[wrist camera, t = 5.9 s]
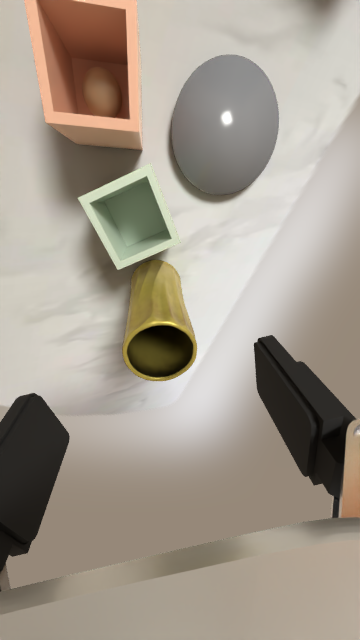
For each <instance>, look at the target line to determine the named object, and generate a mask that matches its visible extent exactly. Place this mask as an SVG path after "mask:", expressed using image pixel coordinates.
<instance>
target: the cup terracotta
mask: <svg viewBox="0 0 360 640" xmlns="http://www.w3.org/2000/svg"><path fill="white" fill-rule="evenodd" d="M24 2H25V7H26V13H27V19H28V24H29V30H30V36H31V42H32V47H33V53H34V59H35V64H36V70H37V76H38V82H39V87H40V93H41V99H42V104H43V110H44V116H45V122H46V123H47V124H48V125H50V126H51V127H53V128H54V129H56V130H57V131H59V132H60V133H61V134H63V135H64V136H66V137H67V138H69V139H70V140H71V141H73V142H74V143H76V144H81V145H92V146H103V147H114V148H125V149H136V150H143V148H142V90H141V54H140V40H139V26H138V12H137V0H24ZM93 67H102V68H105V69H106V70H108V71H109V72H110V73H111V74H112V75H113V76H114V77H115V78H116V80H117V82H118V84H119V86H120V89H121V93H122V106H121V110H120V112H119V114H118V115H117V116H116V117H115V118H110V117H101V116H95V115H93V114H92V112H91V111H90V110H89V109H88V107H87V105H86V103H85V101H84V97H83V92H82V83H83V78H84V76H85V74H86V73H87V71H88V70H90V69H91V68H93Z"/></svg>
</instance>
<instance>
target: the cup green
mask: <svg viewBox="0 0 360 640" xmlns="http://www.w3.org/2000/svg"><path fill="white" fill-rule="evenodd" d="M78 199H79V201H80V203H81V205H82V207H83V208H84V210H85V212H86V214H87V216H88V217H89V219H90V221H91V223H92V225H93V226H94V228H95V230H96V232H97V234H98V235H99V237H100V239H101V241H102V243H103V244H104V246H105V248H106V250H107V252H108V253H109V255H110V257H111V259H112V261H113V262H114V264H115V266H116V268H117V270H119V269H122V268H124V267H126V266H129V265H131V264H133V263H135V262H138V261H140V260H142V259H145V258H147V257H149V256H152V255H154V254H156V253H158V252H161V251H163V250H165V249H168V248H170V247H172V246H174V245H177V244H179V243H181V241H180V239H179V236H178V234H177V231H176V228H175V226H174V223H173V220H172V218H171V215H170V212H169V210H168V207H167V205H166V202H165V199H164V197H163V194H162V191H161V189H160V186H159V183H158V181H157V178H156V175H155V173H154V170H153V168H152V165H151V163H150V164H148V165H146V166H144V167H142V168H140V169H137V170H135V171H133V172H131V173H129V174H127V175H125V176H123V177H121V178H119V179H116V180H114V181H112V182H110V183H108V184H106V185H104V186H102V187H100V188H98V189H95V190H93V191H91V192H89V193H87V194H85V195H83V196H81V197H79V198H78Z"/></svg>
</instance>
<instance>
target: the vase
mask: <svg viewBox="0 0 360 640" xmlns="http://www.w3.org/2000/svg"><path fill="white" fill-rule="evenodd" d="M196 353H197V343H196V340H195V335H194V331H193V328H192V325H191V322H190V319H189V316H188V313H187V310H186V307H185V304H184V300H183V295H182V289H181V281H180V276H179V274H178V273H177V271H176V270H175V268H174V267H173V266H172V265H170V264H168V263H167V262H164V261H161V260H150V261H147V262H145V263H143V264H142V265H140V266H139V267H138V268H137V269H136V270H135V272H134V273H133V276H132V278H131V296H130V304H129V311H128V318H127V325H126V331H125V336H124V342H123V347H122V354H123V358H124V361H125V363H126V365H127V367H128V368H129V369H130V370H131V371H132V372H133V373H134V374H135V375H137V376H138V377H140V378H143V379H146V380H150V381H166V380H170V379H173V378H176V377H178V376H179V375H181V374H183V373H184V372H185V371H187V370H188V369H189V368H190V367H191V365H192V364H193V363H194V361H195V359H196Z"/></svg>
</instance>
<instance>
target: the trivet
mask: <svg viewBox="0 0 360 640" xmlns="http://www.w3.org/2000/svg"><path fill="white" fill-rule="evenodd" d="M278 127H279V111H278V104H277V99H276V95H275V92H274V89H273V87H272V84H271V83H270V81H269V79H268V77H267V76H266V74H265V73H264V72H263V70H262V69H261V68H260V67H259V66H258V65H256V64H255V63H254V62H252V61H251V60H249V59H247V58H245V57H242V56H238V55H221V56H217V57H214V58H212V59H210V60H208V61H206V62H205V63H203V64H202V65H201V66H199V67H198V68H197V69H196V70H195V71H194V72H193V73H192V74H191V76H190V77H189V78H188V80H187V81H186V83H185V84H184V86H183V88H182V90H181V92H180V94H179V97H178V99H177V103H176V106H175V109H174V114H173V119H172V128H171V137H172V147H173V151H174V156H175V158H176V161H177V164H178V166H179V168H180V170H181V172H182V173H183V175H184V176H185V177H186V179H187V180H188V181H189V182H190V183H191V184H192V185H193V186H195V187H196V188H198V189H199V190H201V191H203V192H206V193H209V194H214V195H226V194H232V193H235V192H238V191H240V190H242V189H244V188H245V187H247V186H248V185H250V184H251V183H252V182H253V181H254V180H255V179H256V178H257V177H258V176H259V175H260V174H261V172H262V171H263V170H264V168H265V167H266V165H267V163H268V162H269V160H270V157H271V155H272V153H273V150H274V147H275V144H276V140H277V135H278Z"/></svg>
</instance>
